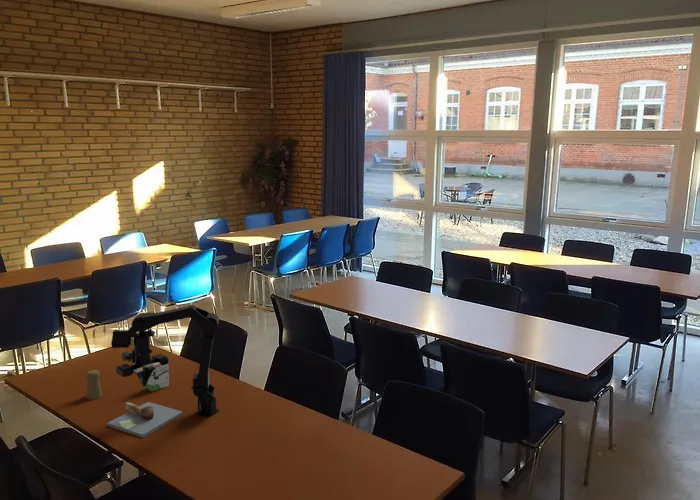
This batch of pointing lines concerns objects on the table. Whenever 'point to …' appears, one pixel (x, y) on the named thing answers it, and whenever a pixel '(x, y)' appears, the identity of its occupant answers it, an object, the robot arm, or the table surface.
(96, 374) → the cork
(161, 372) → the ink box
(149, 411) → the peg lever
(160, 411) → the board
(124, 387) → the table surface
